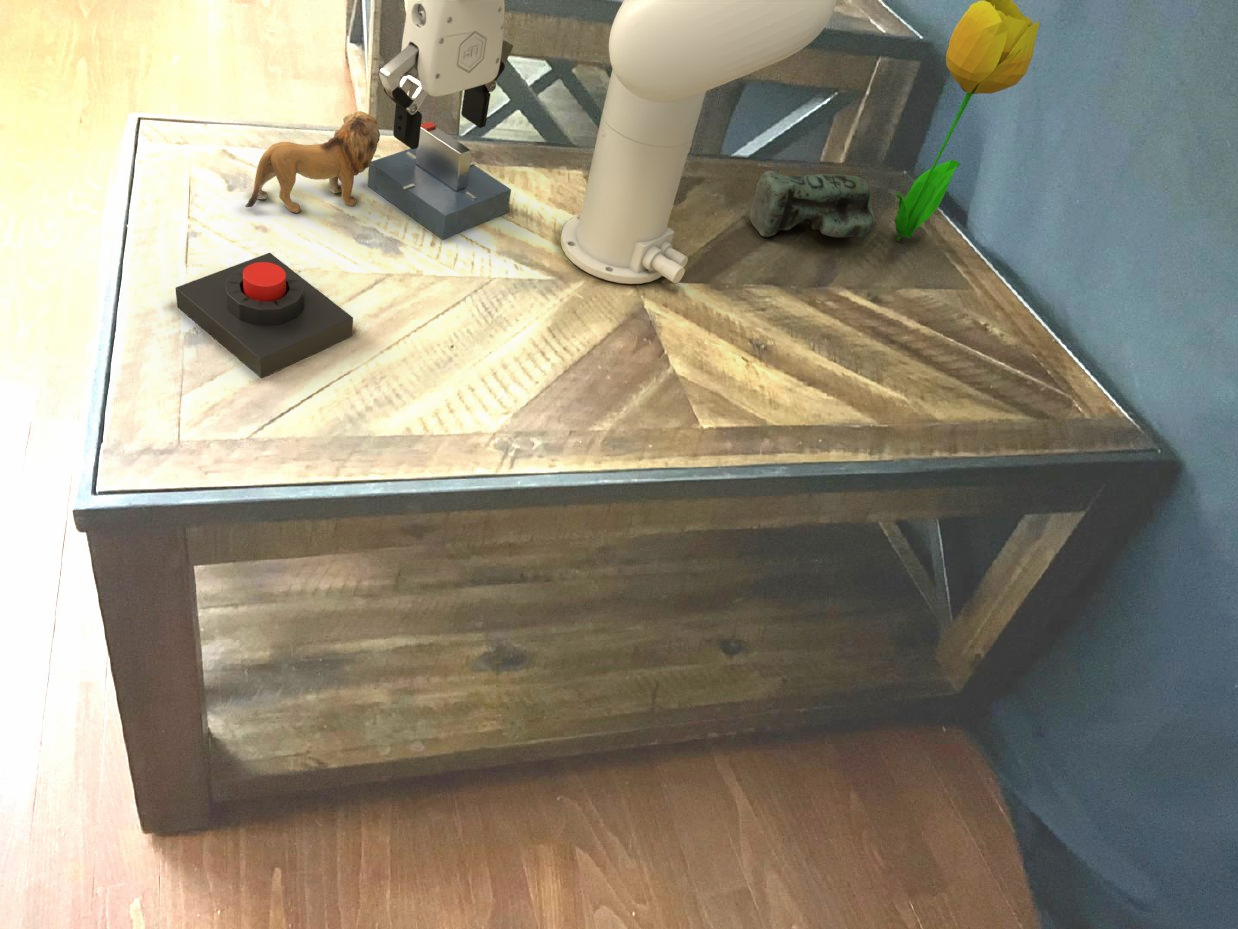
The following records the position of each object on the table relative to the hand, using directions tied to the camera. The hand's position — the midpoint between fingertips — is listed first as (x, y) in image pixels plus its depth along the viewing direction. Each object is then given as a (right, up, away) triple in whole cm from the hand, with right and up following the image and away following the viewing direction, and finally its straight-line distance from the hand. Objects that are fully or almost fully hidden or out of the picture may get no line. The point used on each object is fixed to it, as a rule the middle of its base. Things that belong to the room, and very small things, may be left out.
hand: (440, 131), depth 108 cm
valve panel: (-1, -6, +6) cm, 8 cm away
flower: (+55, -7, +22) cm, 59 cm away
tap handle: (-1, -4, +4) cm, 5 cm away
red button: (-13, -20, -17) cm, 29 cm away
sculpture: (+42, -6, +19) cm, 46 cm away
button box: (-13, -22, -15) cm, 30 cm away
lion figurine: (-13, -7, +1) cm, 15 cm away
